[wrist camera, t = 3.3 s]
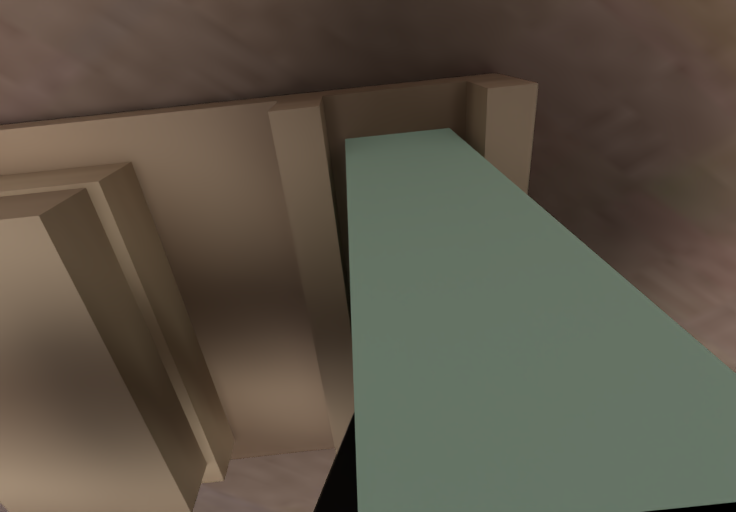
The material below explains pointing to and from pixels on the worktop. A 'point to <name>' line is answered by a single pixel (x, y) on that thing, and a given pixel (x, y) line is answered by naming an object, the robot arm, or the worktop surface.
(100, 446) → the offcut top
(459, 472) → the pale green square slab
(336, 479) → the robot arm
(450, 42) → the worktop surface
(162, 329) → the block
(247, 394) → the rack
